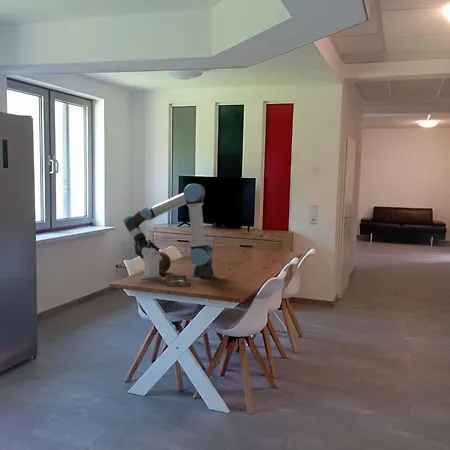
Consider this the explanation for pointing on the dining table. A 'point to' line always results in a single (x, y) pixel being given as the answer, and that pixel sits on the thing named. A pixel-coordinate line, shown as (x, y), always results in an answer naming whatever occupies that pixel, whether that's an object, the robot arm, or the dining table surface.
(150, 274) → the milk carton
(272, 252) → the dining table surface
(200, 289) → the dining table surface
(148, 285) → the dining table surface
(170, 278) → the walnut rack
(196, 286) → the dining table surface
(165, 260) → the wooden sphere
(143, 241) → the robot arm
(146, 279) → the slate tile
